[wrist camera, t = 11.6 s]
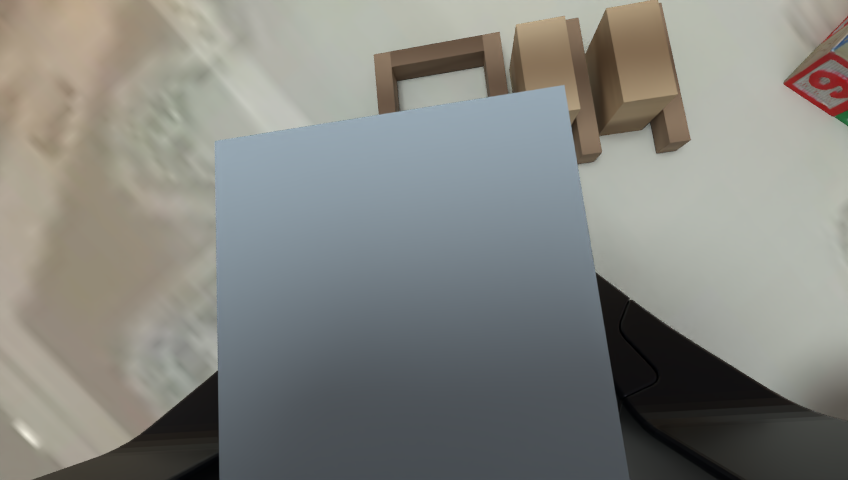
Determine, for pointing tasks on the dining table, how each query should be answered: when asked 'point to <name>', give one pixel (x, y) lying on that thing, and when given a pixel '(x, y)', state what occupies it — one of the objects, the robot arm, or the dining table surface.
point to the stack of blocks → (826, 75)
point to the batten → (412, 300)
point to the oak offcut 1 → (544, 60)
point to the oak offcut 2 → (629, 68)
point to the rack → (488, 53)
